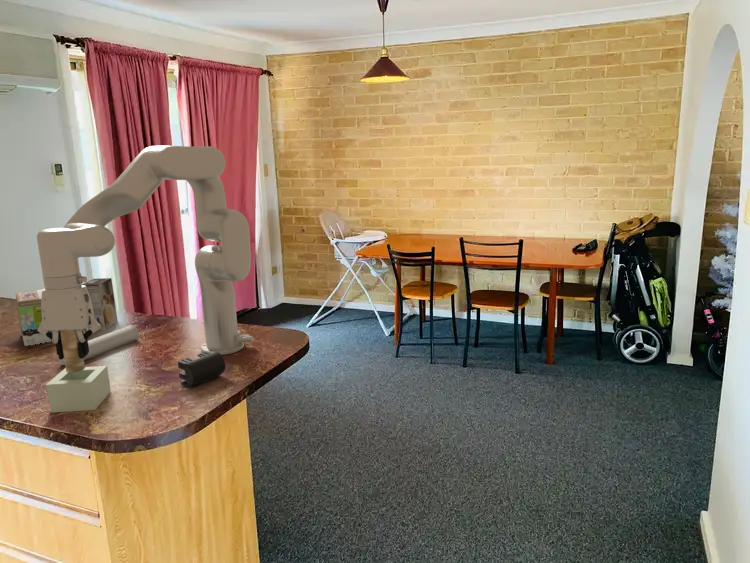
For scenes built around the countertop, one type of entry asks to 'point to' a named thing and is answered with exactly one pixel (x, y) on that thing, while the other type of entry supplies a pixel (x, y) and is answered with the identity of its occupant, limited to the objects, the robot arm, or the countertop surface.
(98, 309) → the coffee box
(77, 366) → the peg
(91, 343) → the tube
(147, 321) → the countertop surface
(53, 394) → the socket block
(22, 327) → the tea box
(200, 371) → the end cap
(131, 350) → the countertop surface
